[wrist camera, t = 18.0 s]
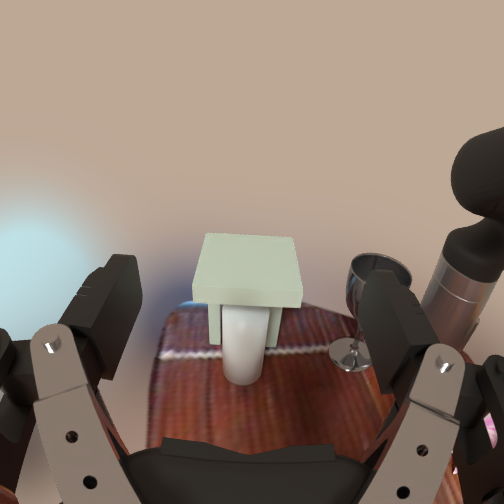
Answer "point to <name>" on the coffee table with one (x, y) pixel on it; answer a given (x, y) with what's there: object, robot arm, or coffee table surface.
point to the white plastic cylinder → (244, 342)
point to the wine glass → (353, 348)
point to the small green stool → (247, 277)
